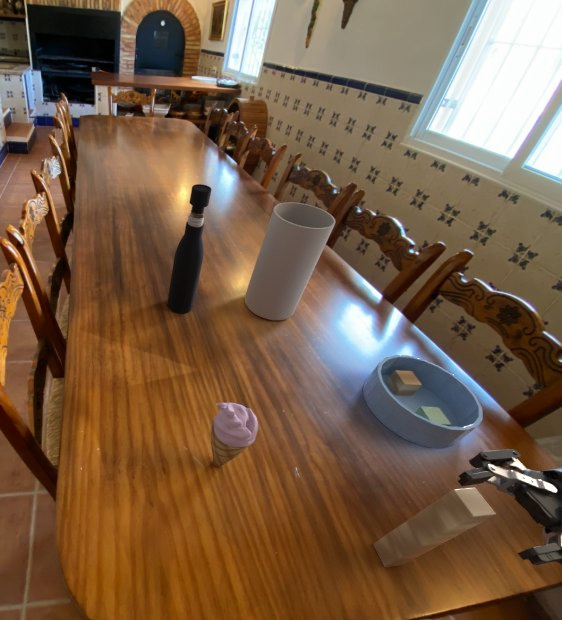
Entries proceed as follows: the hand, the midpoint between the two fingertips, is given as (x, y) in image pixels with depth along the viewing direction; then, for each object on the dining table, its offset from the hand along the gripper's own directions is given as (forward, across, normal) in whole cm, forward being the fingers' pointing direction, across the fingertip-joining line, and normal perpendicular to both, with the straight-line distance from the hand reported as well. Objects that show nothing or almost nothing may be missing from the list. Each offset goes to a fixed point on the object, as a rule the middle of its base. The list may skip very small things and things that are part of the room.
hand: (492, 514), depth 45 cm
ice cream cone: (+28, +16, -11) cm, 34 cm away
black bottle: (+24, +56, -11) cm, 62 cm away
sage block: (-12, +17, -10) cm, 24 cm away
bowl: (-13, +22, -11) cm, 27 cm away
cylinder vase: (+1, +54, -11) cm, 55 cm away
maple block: (-14, +26, -10) cm, 31 cm away
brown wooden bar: (+9, 0, -11) cm, 14 cm away
